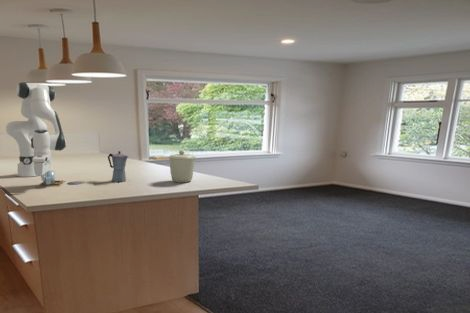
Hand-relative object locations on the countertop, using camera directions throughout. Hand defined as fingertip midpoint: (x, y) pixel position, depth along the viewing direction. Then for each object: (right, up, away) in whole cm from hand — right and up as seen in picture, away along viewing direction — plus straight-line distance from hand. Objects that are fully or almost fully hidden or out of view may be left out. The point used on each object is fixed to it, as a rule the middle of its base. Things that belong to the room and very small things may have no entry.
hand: (44, 180), depth 194 cm
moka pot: (+36, -2, +24) cm, 43 cm away
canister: (+78, -3, +25) cm, 82 cm away
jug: (+1, -3, +4) cm, 5 cm away
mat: (+13, -3, +12) cm, 18 cm away
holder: (0, -4, +9) cm, 9 cm away
